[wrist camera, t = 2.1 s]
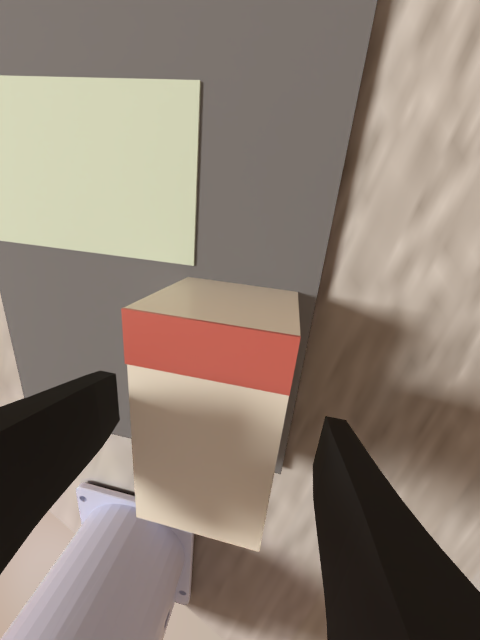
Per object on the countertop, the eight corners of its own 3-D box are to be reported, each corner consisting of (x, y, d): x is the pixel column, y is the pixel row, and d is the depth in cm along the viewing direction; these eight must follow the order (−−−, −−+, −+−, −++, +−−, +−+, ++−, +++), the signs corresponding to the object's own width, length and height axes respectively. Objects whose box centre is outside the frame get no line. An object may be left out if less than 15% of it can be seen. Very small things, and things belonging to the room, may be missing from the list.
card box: (270, 448, 13) (258, 555, 9) (184, 429, 14) (134, 519, 9) (297, 292, 10) (300, 337, 6) (188, 276, 11) (121, 308, 7)
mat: (281, 465, 14) (280, 475, 13) (35, 408, 16) (26, 414, 16) (393, -93, 7) (402, -121, 6) (-65, -62, 9) (-88, -81, 9)
